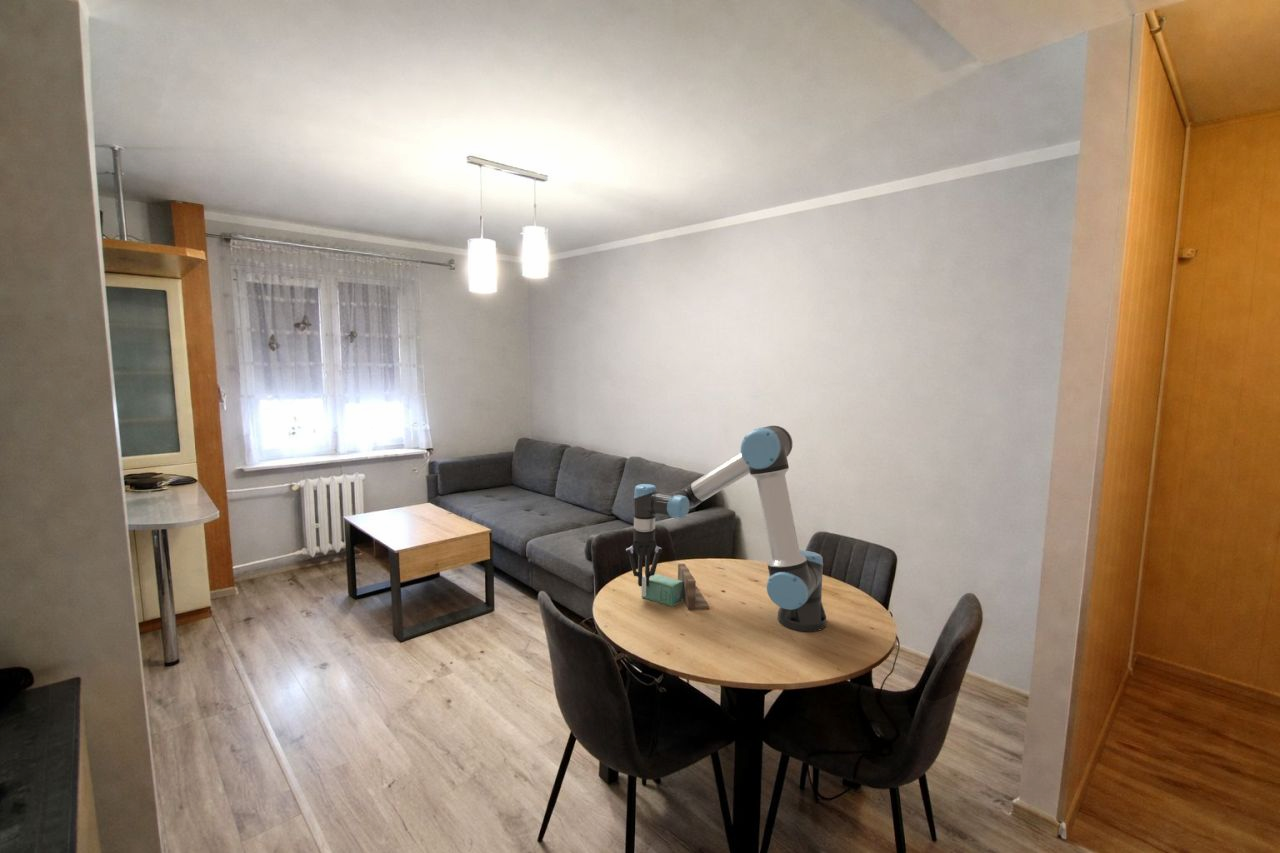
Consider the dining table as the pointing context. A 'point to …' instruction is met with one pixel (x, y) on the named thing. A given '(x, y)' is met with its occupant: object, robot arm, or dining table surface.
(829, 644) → the dining table surface
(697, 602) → the walnut angle bracket
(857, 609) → the dining table surface
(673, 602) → the box
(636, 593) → the dining table surface
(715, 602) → the dining table surface
